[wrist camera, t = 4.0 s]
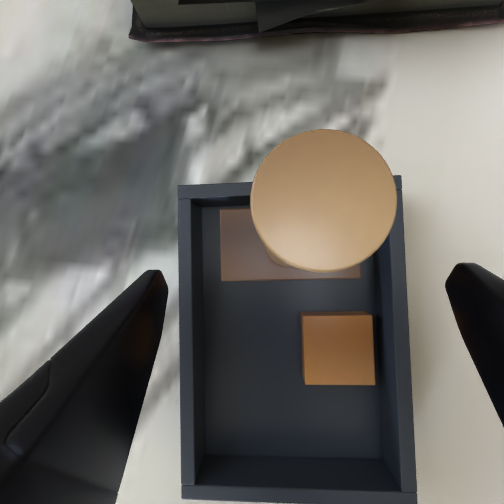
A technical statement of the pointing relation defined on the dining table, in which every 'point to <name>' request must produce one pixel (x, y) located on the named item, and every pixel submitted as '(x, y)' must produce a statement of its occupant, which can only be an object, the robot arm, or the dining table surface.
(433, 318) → the dining table surface
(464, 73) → the dining table surface
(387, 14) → the diary
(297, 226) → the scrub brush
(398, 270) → the baking tray
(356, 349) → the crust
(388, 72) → the dining table surface
